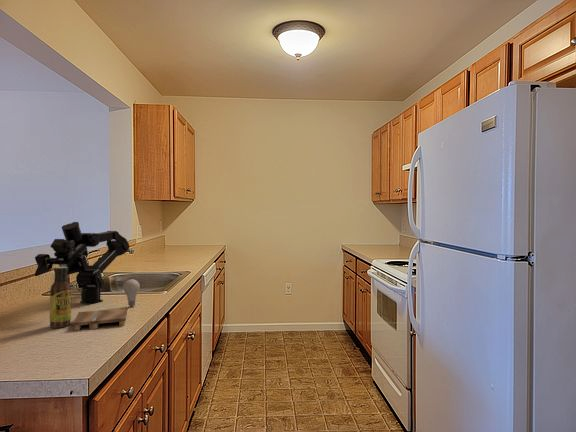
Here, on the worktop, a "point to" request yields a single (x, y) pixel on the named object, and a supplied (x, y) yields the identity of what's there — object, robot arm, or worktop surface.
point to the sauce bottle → (60, 299)
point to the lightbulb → (131, 291)
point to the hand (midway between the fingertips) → (47, 275)
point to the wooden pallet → (100, 318)
